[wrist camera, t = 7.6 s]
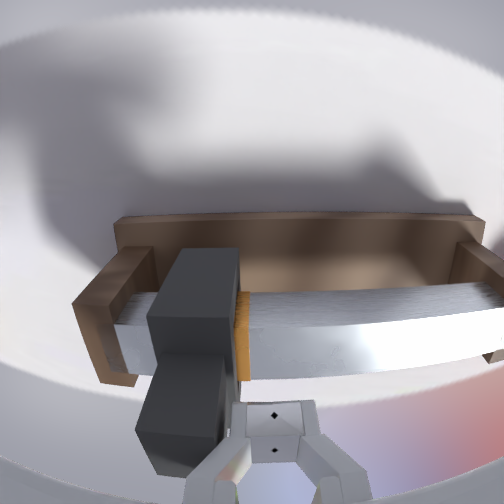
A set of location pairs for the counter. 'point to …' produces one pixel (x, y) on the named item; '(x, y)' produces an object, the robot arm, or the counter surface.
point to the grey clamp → (191, 361)
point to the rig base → (285, 261)
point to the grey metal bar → (338, 330)
